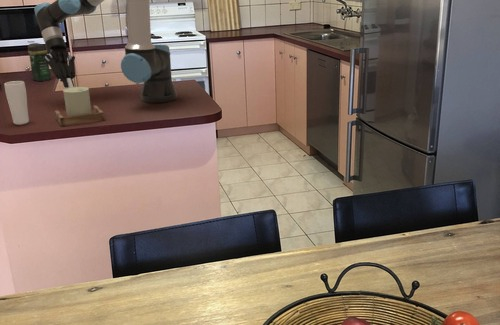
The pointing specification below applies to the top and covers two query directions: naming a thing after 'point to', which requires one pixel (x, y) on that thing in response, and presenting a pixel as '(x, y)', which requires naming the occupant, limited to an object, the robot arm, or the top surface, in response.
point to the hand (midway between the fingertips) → (72, 94)
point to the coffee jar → (39, 62)
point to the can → (77, 101)
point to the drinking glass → (17, 101)
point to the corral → (80, 117)
